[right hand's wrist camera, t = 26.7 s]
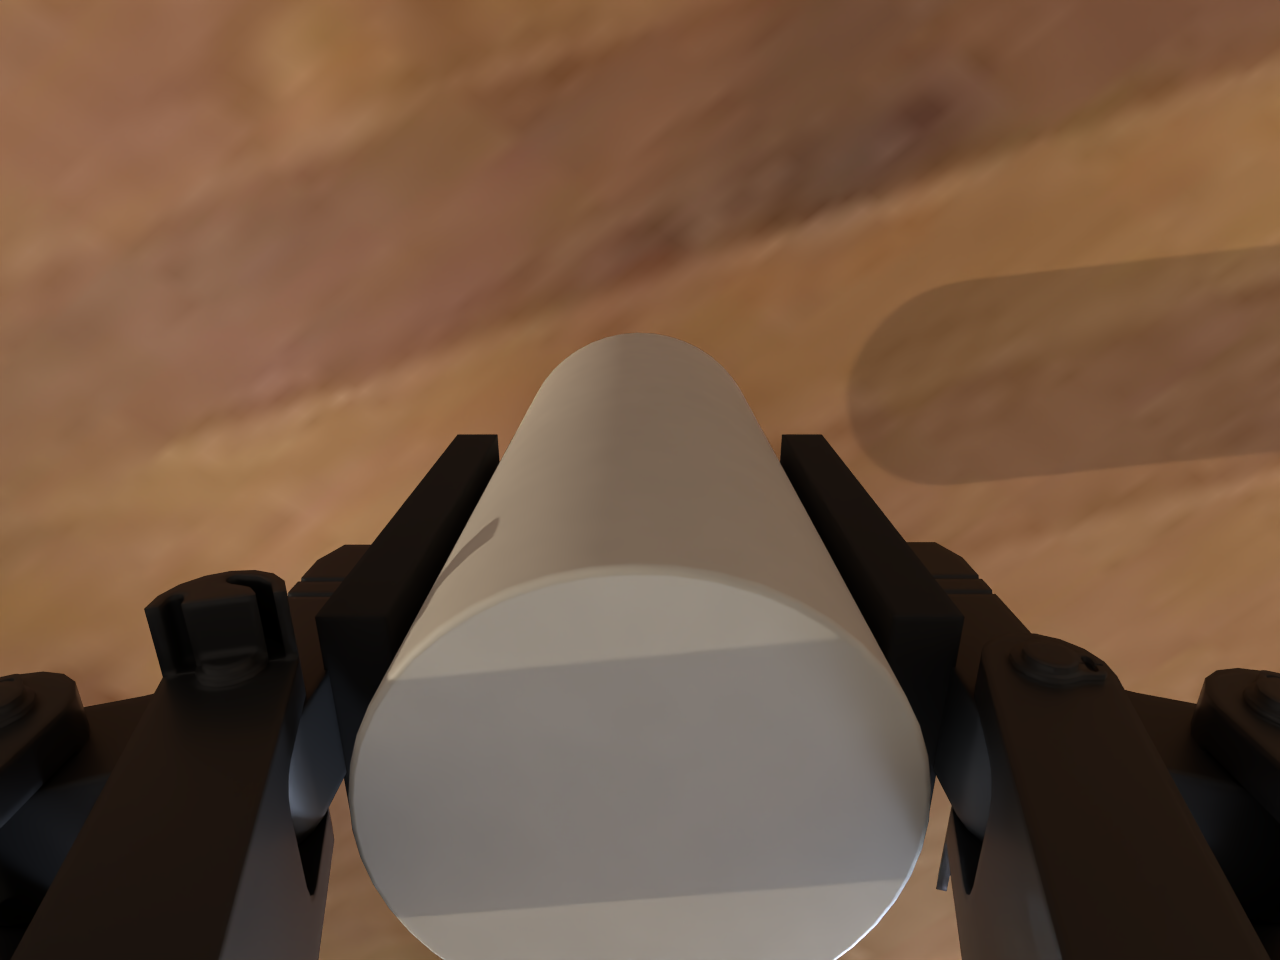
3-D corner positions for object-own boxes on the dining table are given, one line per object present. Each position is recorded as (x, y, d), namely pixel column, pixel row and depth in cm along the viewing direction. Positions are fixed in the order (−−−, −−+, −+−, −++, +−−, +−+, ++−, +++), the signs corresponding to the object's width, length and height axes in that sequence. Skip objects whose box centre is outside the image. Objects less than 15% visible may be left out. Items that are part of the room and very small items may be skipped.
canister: (480, 409, 17) (218, 748, 6) (681, 285, 16) (763, 445, 5) (603, 585, 19) (556, 1084, 8) (793, 482, 18) (1021, 898, 7)
